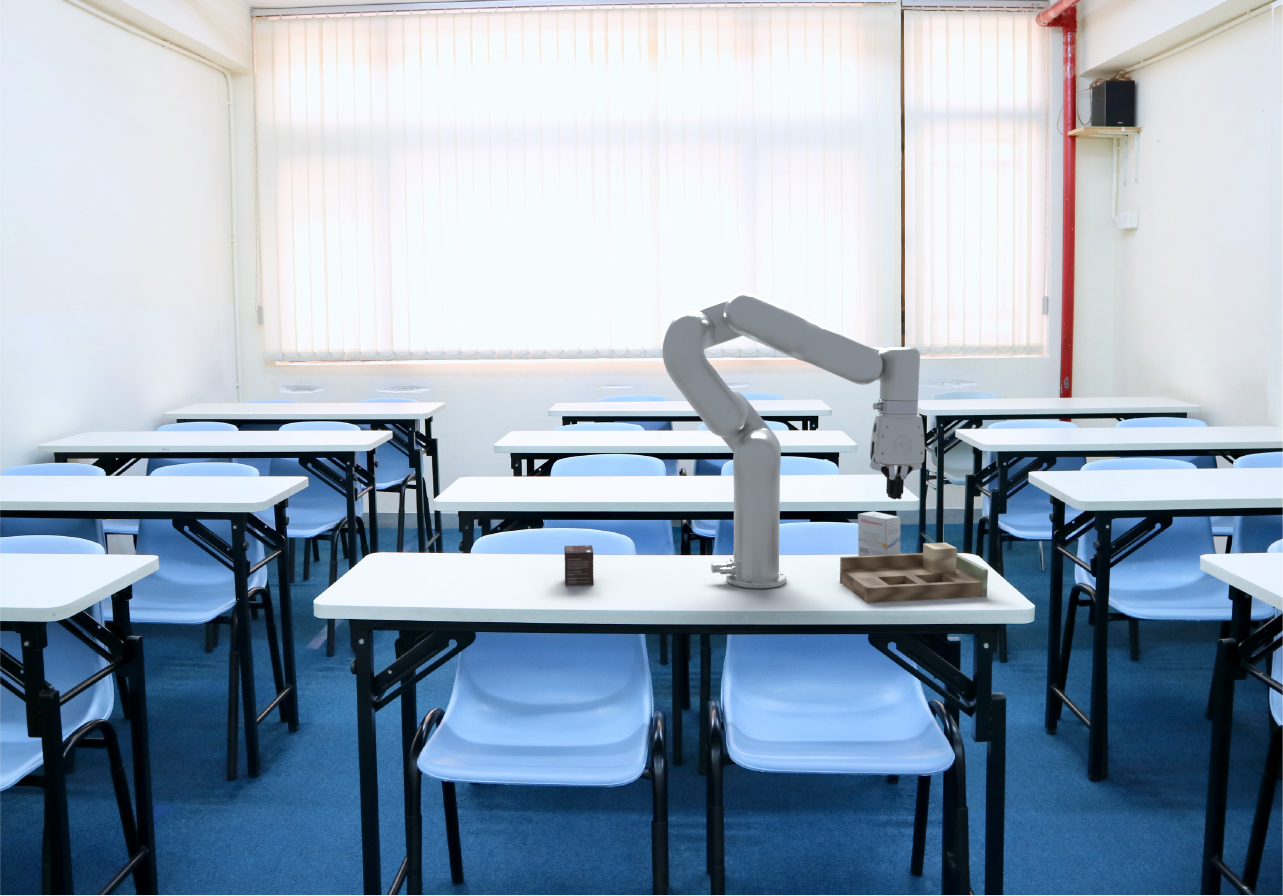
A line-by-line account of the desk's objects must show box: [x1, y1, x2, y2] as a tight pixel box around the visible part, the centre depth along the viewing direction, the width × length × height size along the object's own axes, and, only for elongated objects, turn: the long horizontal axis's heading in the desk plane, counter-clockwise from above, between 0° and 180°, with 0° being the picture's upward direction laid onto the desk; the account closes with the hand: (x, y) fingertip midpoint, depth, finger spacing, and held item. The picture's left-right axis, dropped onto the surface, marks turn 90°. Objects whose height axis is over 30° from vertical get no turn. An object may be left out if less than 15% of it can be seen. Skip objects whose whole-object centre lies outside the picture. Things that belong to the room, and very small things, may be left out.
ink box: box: [857, 511, 901, 556], centre depth 215 cm, size 9×5×12 cm, turn 34°
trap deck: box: [839, 552, 989, 604], centre depth 198 cm, size 25×15×6 cm, turn 98°
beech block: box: [922, 542, 958, 573], centre depth 202 cm, size 5×5×5 cm
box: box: [564, 544, 595, 587], centre depth 205 cm, size 6×6×7 cm
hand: (894, 497), depth 198 cm, fingers closed
